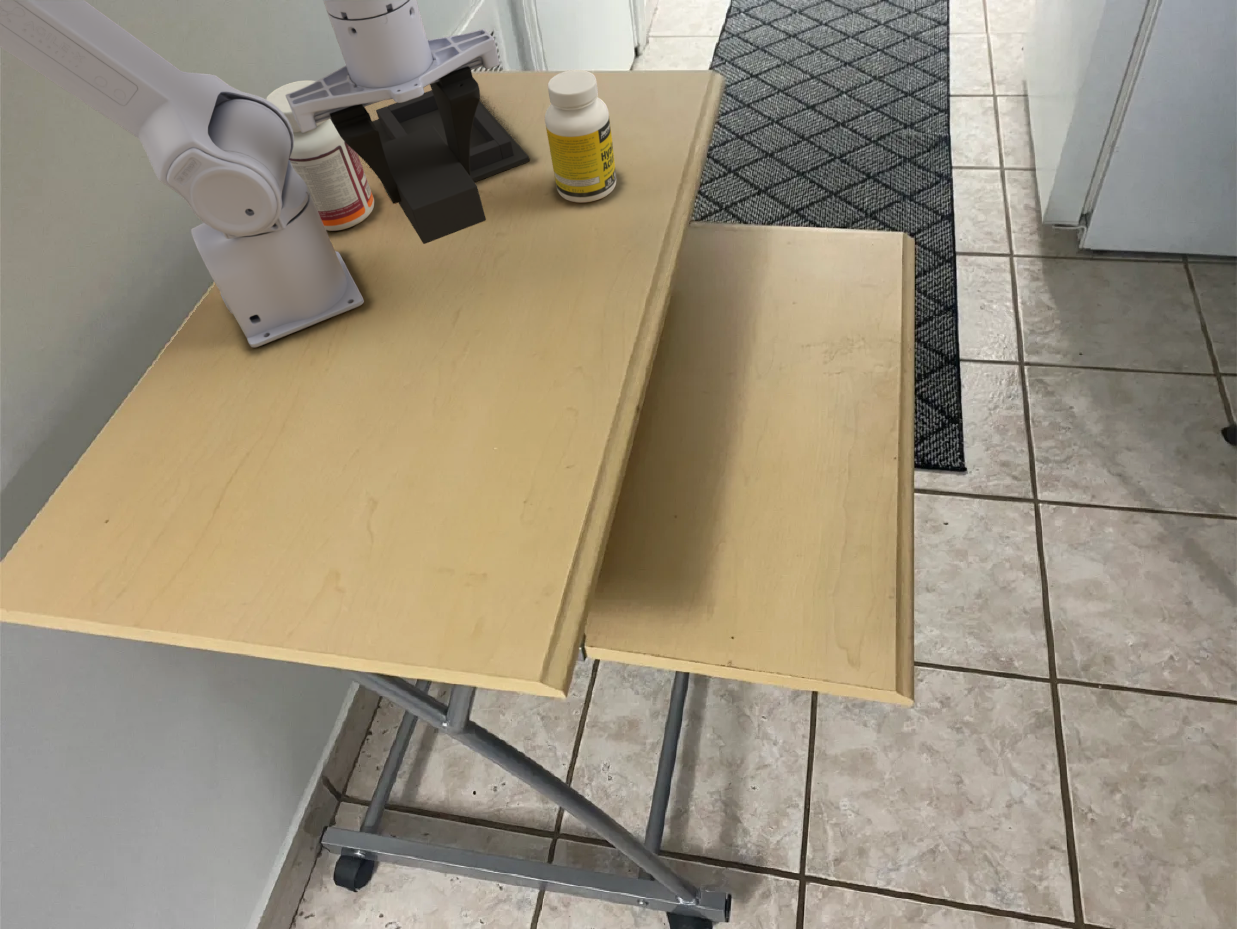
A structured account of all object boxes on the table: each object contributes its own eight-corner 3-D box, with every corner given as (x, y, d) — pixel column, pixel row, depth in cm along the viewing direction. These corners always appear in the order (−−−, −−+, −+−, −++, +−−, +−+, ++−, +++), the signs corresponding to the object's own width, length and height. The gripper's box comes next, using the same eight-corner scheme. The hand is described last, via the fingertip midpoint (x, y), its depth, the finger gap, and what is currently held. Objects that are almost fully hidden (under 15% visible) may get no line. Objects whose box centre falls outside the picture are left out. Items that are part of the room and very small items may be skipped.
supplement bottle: (617, 202, 79) (603, 95, 71) (555, 207, 79) (535, 102, 72) (618, 166, 82) (605, 61, 75) (559, 171, 83) (540, 68, 75)
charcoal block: (486, 220, 67) (477, 185, 65) (423, 244, 66) (411, 209, 64) (443, 159, 73) (432, 124, 71) (384, 180, 72) (372, 146, 70)
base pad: (530, 161, 84) (526, 141, 83) (420, 203, 82) (413, 184, 80) (468, 91, 94) (464, 72, 92) (368, 127, 92) (362, 108, 90)
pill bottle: (337, 187, 85) (290, 71, 76) (389, 199, 83) (347, 81, 74) (295, 226, 82) (241, 109, 73) (348, 239, 80) (299, 120, 71)
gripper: (273, 59, 54) (350, 245, 65) (496, -13, 57) (535, 175, 68) (250, 16, 58) (326, 197, 69) (459, -49, 61) (501, 133, 72)
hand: (428, 183), depth 69 cm, fingers closed on charcoal block, 5 cm apart
